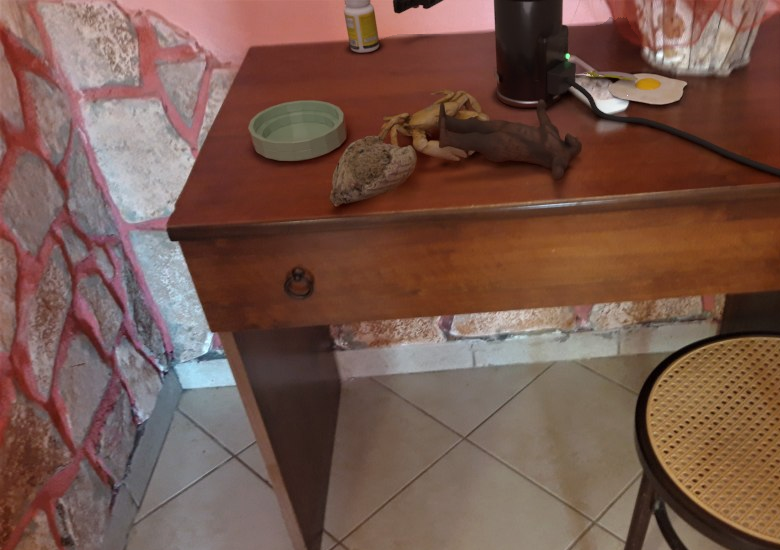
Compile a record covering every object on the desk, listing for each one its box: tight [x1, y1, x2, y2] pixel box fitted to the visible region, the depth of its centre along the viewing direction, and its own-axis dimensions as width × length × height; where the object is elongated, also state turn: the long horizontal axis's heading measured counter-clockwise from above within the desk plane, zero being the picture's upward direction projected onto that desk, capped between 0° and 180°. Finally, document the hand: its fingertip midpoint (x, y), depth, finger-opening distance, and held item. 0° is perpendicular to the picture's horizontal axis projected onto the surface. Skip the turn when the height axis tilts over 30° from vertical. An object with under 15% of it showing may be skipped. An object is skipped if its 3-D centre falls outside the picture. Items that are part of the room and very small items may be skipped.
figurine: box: [437, 99, 583, 181], centre depth 94 cm, size 18×5×18 cm
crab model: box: [377, 89, 491, 162], centre depth 99 cm, size 16×13×6 cm
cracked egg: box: [608, 73, 688, 105], centre depth 111 cm, size 10×11×1 cm
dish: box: [247, 99, 348, 162], centre depth 101 cm, size 12×12×3 cm
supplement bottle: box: [343, 0, 380, 54], centre depth 123 cm, size 5×5×8 cm
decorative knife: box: [583, 69, 638, 82], centre depth 113 cm, size 12×1×5 cm
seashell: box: [329, 135, 418, 207], centre depth 90 cm, size 11×7×10 cm
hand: (374, 2), depth 124 cm, fingers open, 8 cm apart
